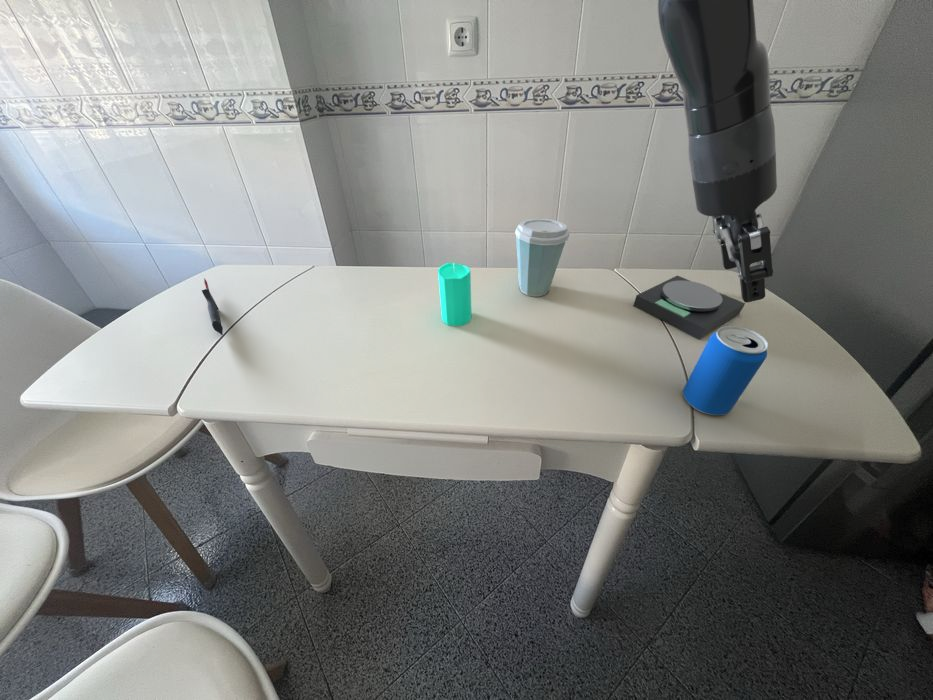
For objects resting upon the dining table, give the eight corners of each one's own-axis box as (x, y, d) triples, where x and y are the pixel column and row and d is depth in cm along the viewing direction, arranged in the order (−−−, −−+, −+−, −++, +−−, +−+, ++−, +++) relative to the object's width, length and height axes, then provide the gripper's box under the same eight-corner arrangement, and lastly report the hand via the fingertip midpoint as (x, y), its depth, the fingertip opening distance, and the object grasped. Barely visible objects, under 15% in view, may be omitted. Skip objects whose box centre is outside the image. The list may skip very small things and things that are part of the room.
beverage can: (725, 426, 51) (769, 361, 43) (676, 405, 54) (708, 342, 46) (733, 398, 55) (774, 334, 47) (686, 380, 58) (718, 318, 50)
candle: (437, 313, 74) (432, 259, 66) (463, 306, 76) (461, 252, 68) (448, 329, 70) (444, 273, 62) (476, 321, 72) (476, 265, 64)
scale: (699, 339, 66) (705, 327, 64) (633, 305, 75) (636, 294, 73) (739, 314, 71) (745, 302, 70) (673, 285, 80) (677, 274, 79)
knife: (227, 336, 70) (215, 314, 67) (219, 339, 69) (206, 317, 66) (213, 286, 85) (202, 267, 82) (206, 288, 85) (195, 269, 81)
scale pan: (701, 282, 75) (702, 278, 75) (733, 309, 67) (735, 306, 67) (652, 285, 75) (653, 281, 74) (678, 313, 67) (679, 309, 66)
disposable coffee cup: (511, 277, 85) (515, 212, 75) (557, 278, 84) (568, 213, 74) (511, 301, 77) (515, 232, 67) (562, 303, 76) (574, 233, 66)
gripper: (802, 163, 33) (802, 304, 41) (751, 130, 43) (759, 248, 52) (707, 197, 37) (724, 320, 45) (680, 159, 47) (698, 265, 55)
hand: (742, 281), depth 48 cm, fingers open, 8 cm apart
